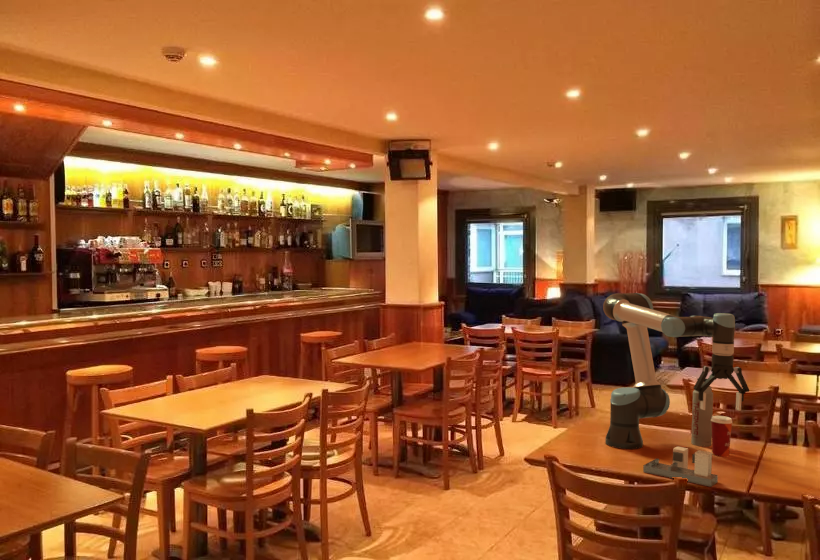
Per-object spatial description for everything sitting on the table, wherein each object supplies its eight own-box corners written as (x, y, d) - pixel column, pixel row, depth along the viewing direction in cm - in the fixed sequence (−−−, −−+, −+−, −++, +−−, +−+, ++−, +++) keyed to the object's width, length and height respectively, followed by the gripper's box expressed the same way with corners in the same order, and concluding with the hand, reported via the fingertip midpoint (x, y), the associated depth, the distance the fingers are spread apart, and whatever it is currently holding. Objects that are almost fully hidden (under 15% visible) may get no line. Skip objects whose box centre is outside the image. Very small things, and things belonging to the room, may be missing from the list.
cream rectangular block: (676, 467, 263) (677, 446, 263) (687, 469, 261) (688, 448, 260) (671, 470, 259) (672, 449, 259) (682, 472, 256) (683, 451, 256)
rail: (643, 472, 256) (644, 443, 256) (650, 467, 262) (651, 440, 261) (711, 486, 241) (712, 456, 241) (717, 482, 246) (718, 452, 246)
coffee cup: (734, 458, 276) (735, 420, 276) (711, 456, 278) (713, 419, 277) (728, 452, 285) (730, 416, 284) (707, 450, 286) (708, 414, 286)
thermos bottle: (697, 446, 292) (699, 380, 291) (687, 441, 300) (689, 377, 299) (715, 446, 293) (717, 380, 292) (705, 441, 301) (707, 377, 300)
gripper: (694, 355, 261) (691, 411, 262) (760, 356, 261) (758, 412, 262) (686, 352, 268) (683, 406, 269) (750, 353, 268) (748, 407, 269)
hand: (720, 409), depth 266 cm, fingers open, 13 cm apart
